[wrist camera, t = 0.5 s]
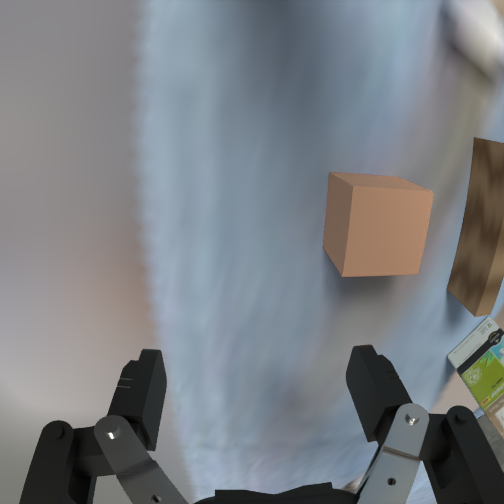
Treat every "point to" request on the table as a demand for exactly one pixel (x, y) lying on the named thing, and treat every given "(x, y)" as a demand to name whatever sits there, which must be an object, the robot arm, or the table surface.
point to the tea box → (484, 369)
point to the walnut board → (481, 232)
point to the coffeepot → (493, 439)
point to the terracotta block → (375, 224)
